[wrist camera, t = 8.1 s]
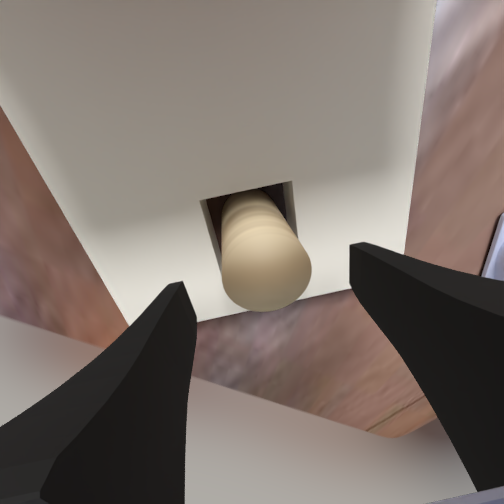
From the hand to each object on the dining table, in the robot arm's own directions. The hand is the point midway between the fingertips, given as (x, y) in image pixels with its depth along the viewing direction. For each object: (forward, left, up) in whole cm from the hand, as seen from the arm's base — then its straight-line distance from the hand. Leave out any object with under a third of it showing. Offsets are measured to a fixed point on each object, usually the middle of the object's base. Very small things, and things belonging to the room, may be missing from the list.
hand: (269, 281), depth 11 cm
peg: (0, 0, -8) cm, 8 cm away
